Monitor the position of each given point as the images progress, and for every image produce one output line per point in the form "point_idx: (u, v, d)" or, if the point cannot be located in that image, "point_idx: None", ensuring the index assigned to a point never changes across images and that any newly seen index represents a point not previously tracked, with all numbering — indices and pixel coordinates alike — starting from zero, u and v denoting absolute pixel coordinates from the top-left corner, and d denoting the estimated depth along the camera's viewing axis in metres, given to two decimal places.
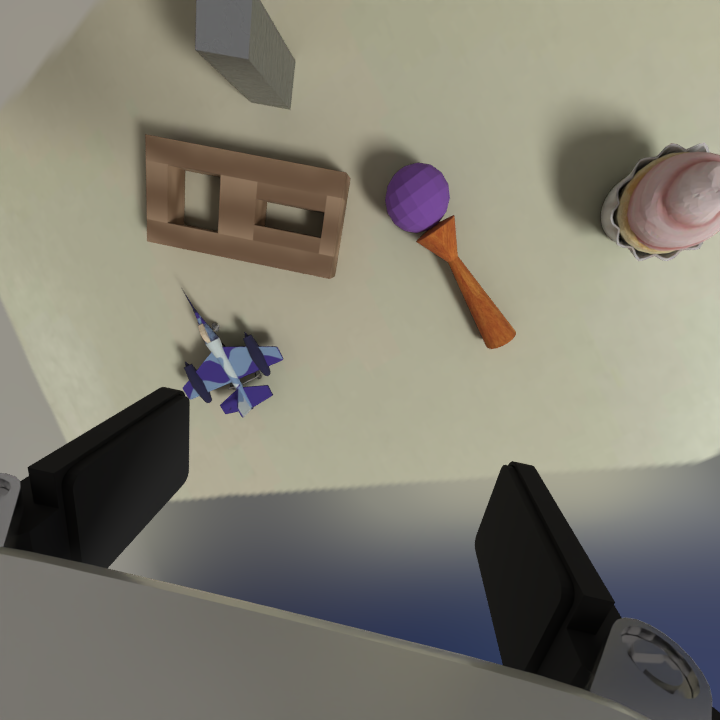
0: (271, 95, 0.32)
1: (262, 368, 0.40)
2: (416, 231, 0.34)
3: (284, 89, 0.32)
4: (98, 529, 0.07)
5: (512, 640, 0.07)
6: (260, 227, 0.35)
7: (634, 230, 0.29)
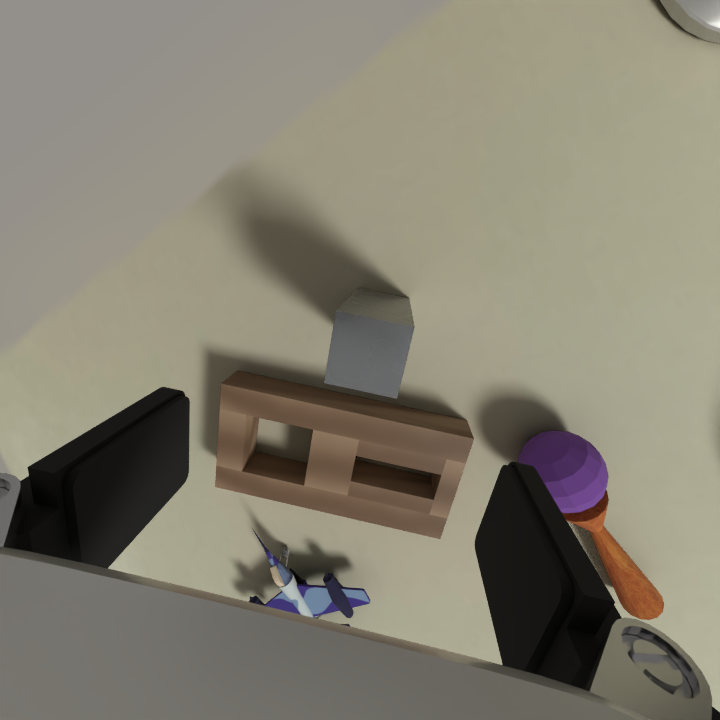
0: None
1: (345, 612, 0.34)
2: None
3: None
4: (98, 529, 0.07)
5: (512, 640, 0.07)
6: (358, 483, 0.29)
7: None
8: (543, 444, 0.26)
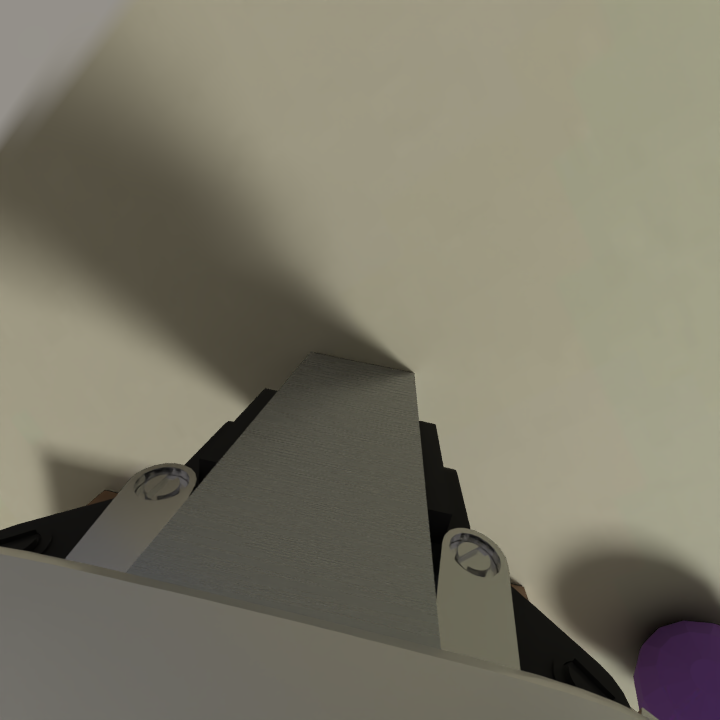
0: None
1: None
2: None
3: None
4: None
5: None
6: None
7: None
8: (714, 684, 0.12)
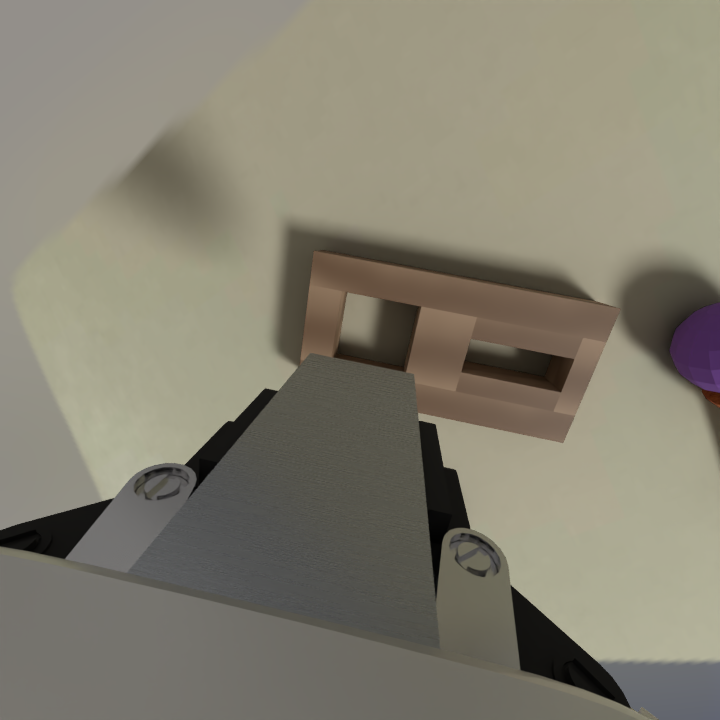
0: None
1: None
2: None
3: None
4: None
5: None
6: (470, 375, 0.25)
7: None
8: None
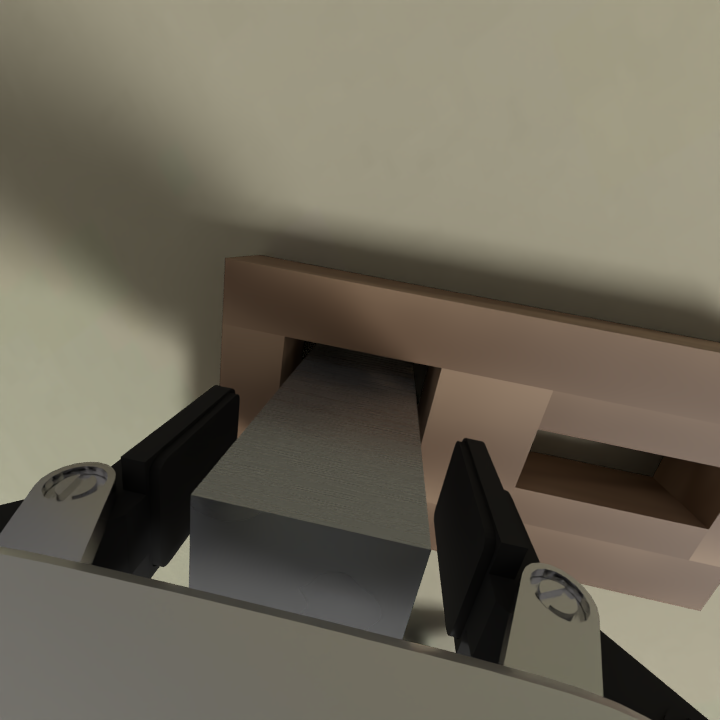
0: None
1: None
2: None
3: None
4: (172, 515, 0.08)
5: (451, 593, 0.08)
6: (532, 493, 0.13)
7: None
8: None
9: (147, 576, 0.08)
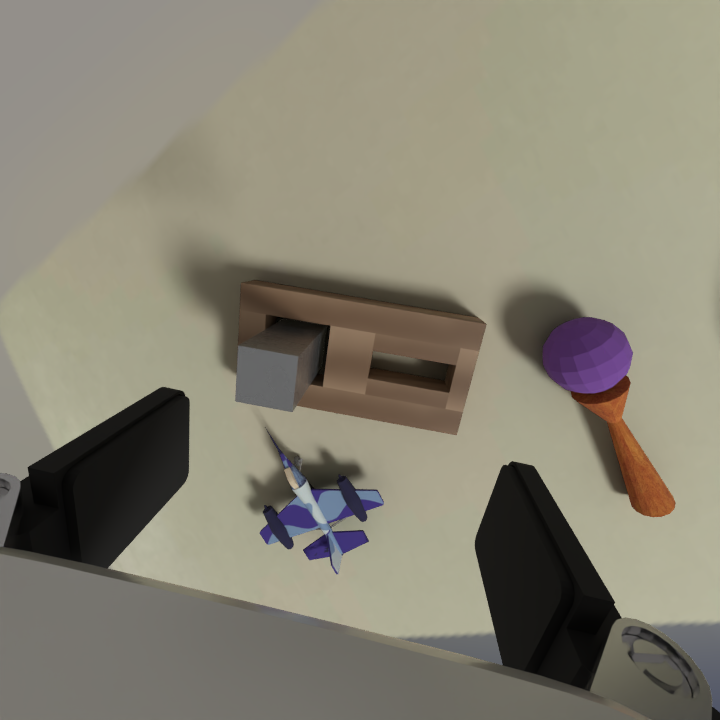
0: None
1: (359, 515, 0.34)
2: None
3: (318, 364, 0.31)
4: (98, 529, 0.07)
5: (512, 640, 0.07)
6: (375, 381, 0.30)
7: None
8: (570, 325, 0.27)
9: None
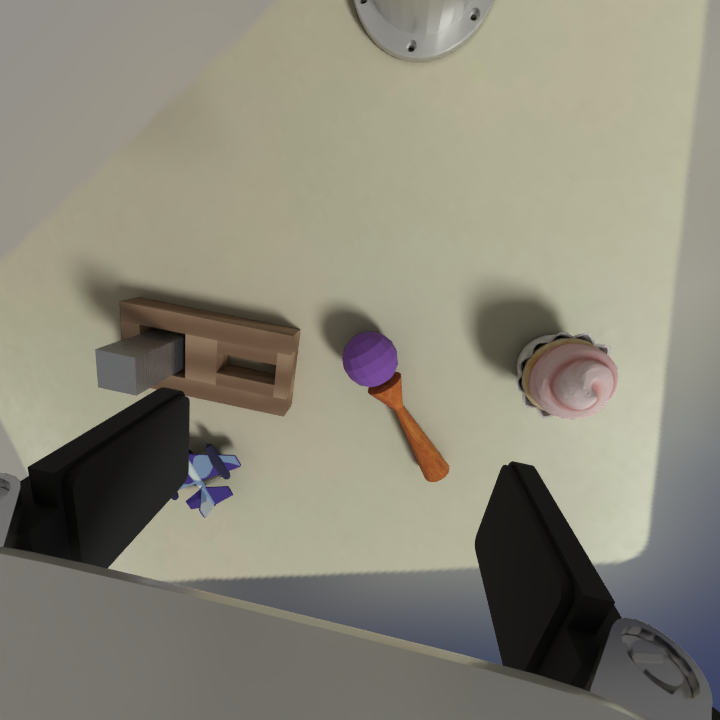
0: None
1: (222, 474, 0.45)
2: (367, 385, 0.39)
3: (183, 361, 0.42)
4: (98, 529, 0.07)
5: (512, 641, 0.07)
6: (221, 375, 0.41)
7: (534, 399, 0.34)
8: (356, 337, 0.37)
9: None
